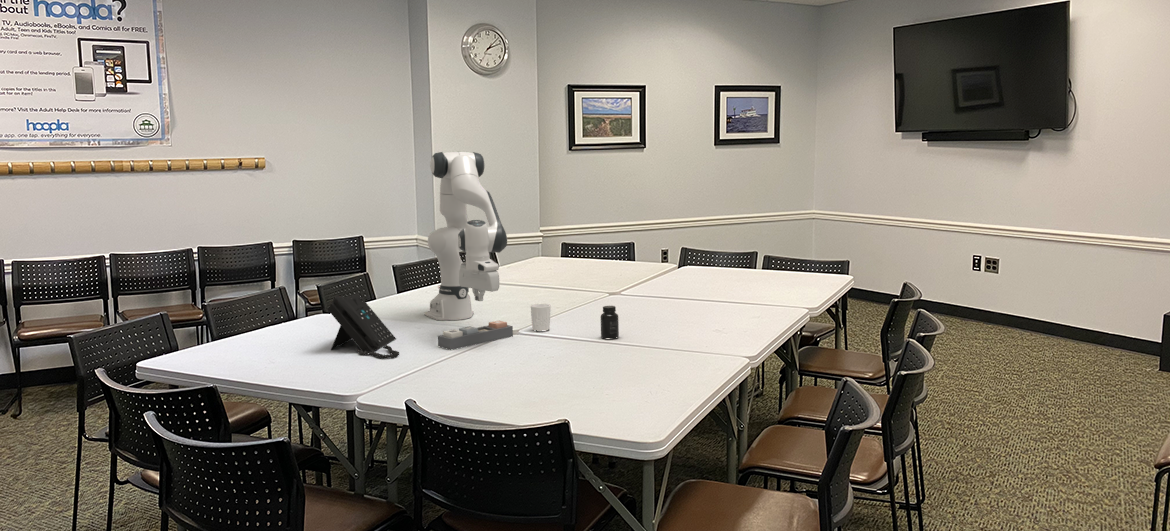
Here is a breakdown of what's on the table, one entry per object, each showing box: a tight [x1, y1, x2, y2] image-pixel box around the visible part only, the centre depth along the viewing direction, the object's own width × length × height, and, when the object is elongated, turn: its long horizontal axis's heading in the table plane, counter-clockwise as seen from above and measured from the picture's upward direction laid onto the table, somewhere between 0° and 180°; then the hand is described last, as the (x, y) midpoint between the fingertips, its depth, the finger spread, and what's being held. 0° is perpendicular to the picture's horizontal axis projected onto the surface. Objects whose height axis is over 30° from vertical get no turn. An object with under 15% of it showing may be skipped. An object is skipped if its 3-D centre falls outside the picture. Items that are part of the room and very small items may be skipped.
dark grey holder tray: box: [437, 324, 514, 351], centre depth 315 cm, size 8×29×4 cm, turn 135°
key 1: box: [442, 329, 463, 338], centre depth 308 cm, size 5×5×3 cm
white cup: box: [530, 303, 552, 331], centre depth 332 cm, size 8×8×10 cm
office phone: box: [327, 292, 400, 359], centre depth 305 cm, size 29×28×20 cm
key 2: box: [458, 325, 478, 335], centre depth 313 cm, size 5×5×3 cm
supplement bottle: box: [600, 305, 620, 339], centre depth 318 cm, size 7×7×12 cm
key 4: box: [488, 320, 508, 329], centre depth 322 cm, size 5×5×3 cm
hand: (479, 300), depth 314 cm, fingers closed
